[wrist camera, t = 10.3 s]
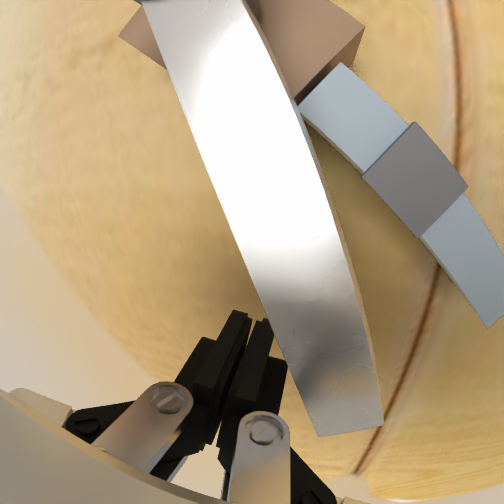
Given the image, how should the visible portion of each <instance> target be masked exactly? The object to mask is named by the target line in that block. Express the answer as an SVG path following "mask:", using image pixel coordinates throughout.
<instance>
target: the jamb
mask: <svg viewBox="0 0 504 504" xmlns="http://www.w3.org/2000/svg"><path fill="white" fill-rule="evenodd" d="M259 2H260V15H259V18H258V20H257V21H258V23H259V25H260V27H261V29H262V31H263V33H264V35H265V37H266V39H267V41H268V43H269V45H270V47H271V49H272V51H273V53H274V55H275V57H276V60H277V62H278V64H279V66H280V68H281V70H282V73H283V75H284V77H285V79H286V81H287V84H288V86H289V88H290V90H291V93H292V95H293V97H294V100H295V102H296V104H297V107H298V105H299V104H300V103H301V102H302V101H303V100H304V99H305V98H306V97H307V96H308V95H309V94H310V93H311V92H312V91H313V90H314V89H315V88H316V87H317V86H318V85H319V84H320V82H321V81H322V80H323V79H324V78H325V77H326V76H327V75H328V74H329V73H330V72H331V71H332V70H333V69H334V68H335V67H336V66H337V65H338V64H339V63H340V62H341V63H343V64H344V65H345V66H346V67H348V66H349V65H350V64H351V63H352V62H353V61H354V58H355V55H356V52H357V50H358V47H359V44H360V41H361V38H362V35H363V32H364V29H365V26H364V25H363V24H361V23H360V22H359V21H357V20H356V19H355V18H353V17H352V16H351V15H349V14H348V13H347V12H345V11H344V10H342V9H341V8H339V7H338V6H337V5H335V4H334V3H332V2H331V1H329V0H259ZM118 36H119V37H120V38H122V39H123V40H125V41H126V42H128V43H129V44H131V45H132V46H134V47H135V48H136V49H138V50H139V51H141V52H142V53H144V54H145V55H147V56H148V57H149V58H151V59H152V60H154V61H155V62H157V63H158V64H159V65H161V66H162V67H164V68H165V69H166V70H167V68H166V65H165V62H164V60H163V57H162V55H161V52H160V50H159V47H158V44H157V42H156V39H155V37H154V34H153V31H152V29H151V26H150V24H149V21H148V18H147V16H146V13H145V11H144V8H143V5H142V6H141V7H140V8H139V9H138V11H137V12H136V13H135V14H134V16H133V17H132V18H131V20H130V21H129V22H128V23H127V25H126V26H125V27H124V29H123V30H122V31H121V33H120V34H119V35H118Z"/></svg>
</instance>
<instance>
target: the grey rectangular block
mask: <svg viewBox="0 0 504 504" xmlns="http://www.w3.org/2000/svg"><path fill="white" fill-rule="evenodd" d="M298 109H299V112H300V114H301V116H302V118H303V119H304V121H305V122H307V123H308V124H309V125H310V126H311V127H312V128H313V129H314V130H316V131H317V132H318V133H319V134H320V135H321V136H322V137H323V138H324V139H325V140H327V141H328V142H329V143H330V144H331V145H332V146H333V147H334V148H335V149H336V150H337V151H338V152H339V153H340V154H341V155H342V156H343V157H344V158H345V159H346V160H347V161H349V162H350V163H351V164H352V165H353V166H354V167H355V168H356V169H357V170H358V171H359V172H360V174H361V177H362V178H363V179H364V180H365V182H366V183H367V184H368V185H369V186H370V187H371V188H372V189H373V190H374V191H375V192H376V193H377V194H378V195H379V196H380V197H381V198H382V200H383V201H384V202H385V203H386V204H387V205H388V206H389V207H390V208H391V209H392V211H393V212H394V213H395V214H396V215H397V216H398V217H399V218H400V220H401V221H402V222H403V223H404V224H405V225H406V227H407V228H408V229H409V230H410V231H411V232H412V234H413V235H414V236H415V237H416V238H417V239H418V238H419V239H420V240H421V242H422V243H423V244H424V245H425V247H426V248H427V249H428V250H429V252H430V253H431V254H432V255H433V257H434V258H435V259H436V260H437V262H438V263H439V264H440V266H441V267H442V268H443V270H444V271H445V272H446V274H447V275H448V276H449V278H450V279H451V280H452V282H453V283H454V284H455V286H456V287H457V288H458V290H459V291H460V292H461V293H462V295H463V296H464V297H465V299H466V300H467V301H468V303H469V304H470V305H471V307H472V308H473V309H474V311H475V312H476V313H477V315H478V316H479V318H480V319H481V320H482V322H483V323H484V325H485V326H486V327H487V329H488V328H489V327H490V326H491V325H493V324H494V323H495V322H496V321H497V320H498V319H499V318H500V317H501V316H502V315H503V314H504V255H503V254H502V252H501V250H500V248H499V247H498V245H497V243H496V242H495V240H494V238H493V236H492V235H491V233H490V232H489V230H488V228H487V227H486V225H485V224H484V222H483V220H482V219H481V217H480V216H479V214H478V213H477V211H476V210H475V208H474V207H473V205H472V204H471V202H470V201H469V200H468V198H467V197H466V195H465V194H464V193H463V192H464V191H465V190H466V189H467V188H468V185H467V184H466V183H465V181H464V180H463V179H462V177H461V176H460V174H459V173H458V172H457V171H456V169H455V168H454V167H453V165H452V164H451V163H450V161H449V160H448V159H447V158H446V156H445V155H444V154H443V153H442V151H441V150H440V149H439V148H438V147H437V145H436V144H435V143H434V142H433V141H432V139H431V138H430V137H429V136H428V135H427V134H426V133H425V131H424V130H423V129H422V128H421V127H420V126H419V125H418V124H417V123H416V122H412V123H411V124H410V125H409V126H408V124H407V123H406V122H405V121H404V120H403V119H402V118H401V117H400V116H399V115H398V114H397V113H396V112H395V111H394V110H393V109H392V108H391V107H390V106H389V105H388V104H387V103H386V102H385V101H384V100H383V99H382V98H381V97H380V96H379V95H378V94H377V93H376V92H374V91H373V90H372V89H371V88H370V87H369V86H368V85H367V84H366V83H365V82H364V81H362V80H361V79H360V78H359V77H358V76H357V75H356V74H354V73H353V72H352V71H351V70H350V69H349V68H347V67H346V66H345V65H344V64H343V63H341V62H340V63H339V64H338V65H337V66H336V67H335V68H334V69H333V70H332V71H331V72H330V73H329V74H328V75H327V76H326V77H325V78H324V79H323V80H322V81H321V82H320V84H319V85H318V86H317V87H316V88H315V89H314V90H313V91H312V92H311V93H310V94H309V95H308V96H307V97H306V98H305V99H304V100H303V101H302V102H301V103H300V104H299V105H298Z"/></svg>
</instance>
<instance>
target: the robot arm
mask: <svg viewBox="0 0 504 504" xmlns="http://www.w3.org/2000/svg"><path fill="white" fill-rule="evenodd" d="M247 317H248V314H247V313H244V312H240V311H237V310H233V311H232V313H231V314H230V316H229V318H228V320H227V322H226V324H225V326H224V327H223V329H222V331H221V333H220V335H219V337H218V338H217V340H216V341H215V340H212V339H209V338H206V337H202V338H201V339H200V341H199V342H198V344H197V346H196V347H195V349H194V350H193V352H192V354H191V355H190V357H189V358H188V360H187V362H186V363H185V365H184V366H183V368H182V370H181V371H180V373H179V375H178V376H177V378H176V379H175V381H174V382H159V383H156V384H153V385H152V386H150V387H149V388H148V389H147V390H146V391H145V392H144V393H143V394H142V395H141V396H140V397H139V398H138V399H137V400H135V401H130V402H124V403H119V404H113V405H106V406H100V407H93V408H86V409H81V410H77V411H75V410H72V407H71V406H69V405H66V404H63V403H61V402H58V401H55V400H52V399H50V398H47V397H45V396H42V395H40V394H37V393H35V392H32V391H30V390H28V389H24V388H18V389H15V390H12V391H11V392H10V393H7V392H5V391H3V390H0V504H368V503H365V502H362V501H358V500H354V499H351V498H348V497H345V498H344V499H342V498H338V497H335V496H334V494H333V493H332V491H331V490H330V489H329V488H328V487H327V486H326V485H325V484H324V483H323V482H322V481H321V480H320V478H319V477H318V476H317V475H316V474H315V473H314V472H313V471H312V470H311V469H310V468H309V467H308V466H307V464H306V463H305V462H304V461H303V460H302V459H301V458H300V457H299V456H298V454H297V453H296V452H295V451H294V450H293V449H292V448H291V446H290V432H289V427H288V425H287V424H286V422H285V421H284V420H283V419H282V418H281V417H279V416H278V413H279V408H280V404H281V399H282V394H283V389H284V384H285V379H286V374H287V369H288V365H287V363H286V360H282V359H278V358H274V357H270V356H269V352H270V349H271V345H272V341H273V338H274V332H273V329H272V327H271V325H270V322H269V320H268V319H265V318H263V321H262V322H261V321H258V320H257V321H256V323H255V326H254V328H253V331H252V333H251V336H250V339H249V341H248V336H249V332H250V328H251V324H252V319H251V318H247ZM247 341H248V344H247ZM246 345H247V346H246ZM221 420H222V421H221ZM220 423H221V426H220V430H219V435H218V439H217V444H216V447H219V448H220V451H219V455H218V460H219V461H220V463H221V465H222V466H223V468H224V469H225V472H224V478H223V485H222V491H221V498H220V499H217V498H213V497H210V496H207V495H204V494H201V493H197V492H194V491H192V490H189V489H186V488H183V487H180V486H177V485H175V484H172V483H170V482H171V481H172V479H173V478H174V476H175V475H176V474H177V472H178V471H179V470H180V468H181V467H182V466H183V464H184V463H185V461H186V460H187V458H188V455H192V454H195V453H198V452H199V450H201V451H203V449H204V447H205V444H209V445H211V444H212V442H213V440H214V438H215V435H216V433H217V430H218V428H219V425H220Z"/></svg>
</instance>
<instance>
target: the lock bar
mask: <svg viewBox="0 0 504 504" xmlns="http://www.w3.org/2000/svg"><path fill="white" fill-rule="evenodd" d="M134 1H136V2H138V3H139V4H141V5H143V8H144V11H145V13H146V16H147V18H148V21H149V24H150V26H151V29H152V31H153V34H154V37H155V39H156V42H157V44H158V47H159V50H160V52H161V55H162V57H163V60H164V62H165V65H166V68H167V70H168V73H169V75H170V78H171V80H172V83H173V86H174V88H175V91H176V93H177V96H178V98H179V101H180V103H181V106H182V108H183V111H184V113H185V116H186V118H187V121H188V124H189V126H190V129H191V131H192V134H193V136H194V139H195V141H196V144H197V146H198V149H199V151H200V154H201V156H202V159H203V161H204V164H205V166H206V169H207V171H208V174H209V176H210V179H211V181H212V184H213V186H214V188H215V191H216V193H217V196H218V198H219V201H220V203H221V206H222V208H223V211H224V213H225V216H226V218H227V220H228V223H229V225H230V228H231V230H232V233H233V235H234V238H235V240H236V243H237V245H238V247H239V250H240V252H241V255H242V257H243V260H244V262H245V264H246V267H247V269H248V272H249V274H250V277H251V279H252V281H253V284H254V286H255V289H256V291H257V293H258V296H259V298H260V301H261V303H262V305H263V308H264V310H265V313H266V315H267V317H268V320H269V322H270V325H271V327H272V329H273V332H274V334H275V337H276V339H277V341H278V344H279V346H280V348H281V351H282V353H283V356H284V358H285V360H286V363H287V365H288V367H289V370H290V372H291V374H292V377H293V379H294V382H295V384H296V386H297V389H298V391H299V393H300V396H301V398H302V400H303V403H304V405H305V407H306V410H307V412H308V414H309V417H310V419H311V421H312V424H313V426H314V428H315V431H316V433H317V435H318V437H323V436H330V435H336V434H342V433H348V432H354V431H359V430H364V429H369V428H373V427H378V426H382V425H384V418H383V409H382V401H381V393H380V386H379V379H378V372H377V366H376V360H375V354H374V348H373V343H372V339H371V334H370V330H369V325H368V321H367V317H366V313H365V309H364V305H363V301H362V297H361V293H360V289H359V286H358V282H357V278H356V275H355V271H354V268H353V264H352V261H351V257H350V254H349V250H348V247H347V244H346V240H345V237H344V234H343V230H342V227H341V224H340V221H339V218H338V215H337V212H336V209H335V206H334V203H333V200H332V197H331V194H330V191H329V188H328V185H327V182H326V179H325V177H324V174H323V171H322V168H321V165H320V163H319V160H318V157H317V155H316V152H315V149H314V147H313V144H312V142H311V139H310V136H309V134H308V131H307V129H306V126H305V124H304V121H303V119H302V116H301V114H300V112H299V109H298V107H297V104H296V102H295V100H294V97H293V95H292V93H291V90H290V88H289V86H288V84H287V81H286V79H285V77H284V75H283V73H282V70H281V68H280V66H279V64H278V62H277V60H276V57H275V55H274V53H273V51H272V49H271V47H270V45H269V43H268V41H267V39H266V37H265V35H264V33H263V31H262V29H261V27H260V25H259V23H258V21H257V20H258V18H259V15H260V2H259V0H134Z"/></svg>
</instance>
